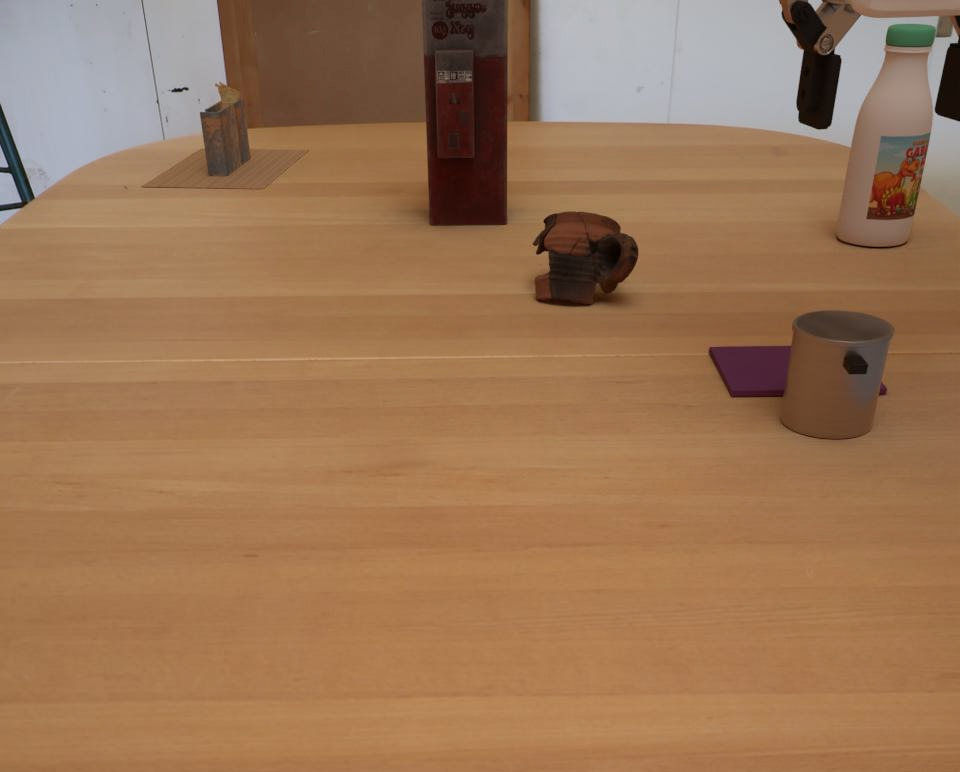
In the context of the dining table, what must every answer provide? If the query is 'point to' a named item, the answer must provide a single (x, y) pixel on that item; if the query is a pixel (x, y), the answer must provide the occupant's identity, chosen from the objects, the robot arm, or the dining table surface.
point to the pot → (835, 373)
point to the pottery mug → (583, 256)
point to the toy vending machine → (466, 110)
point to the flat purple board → (755, 369)
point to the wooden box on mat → (227, 152)
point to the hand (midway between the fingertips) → (883, 121)
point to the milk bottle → (890, 144)
